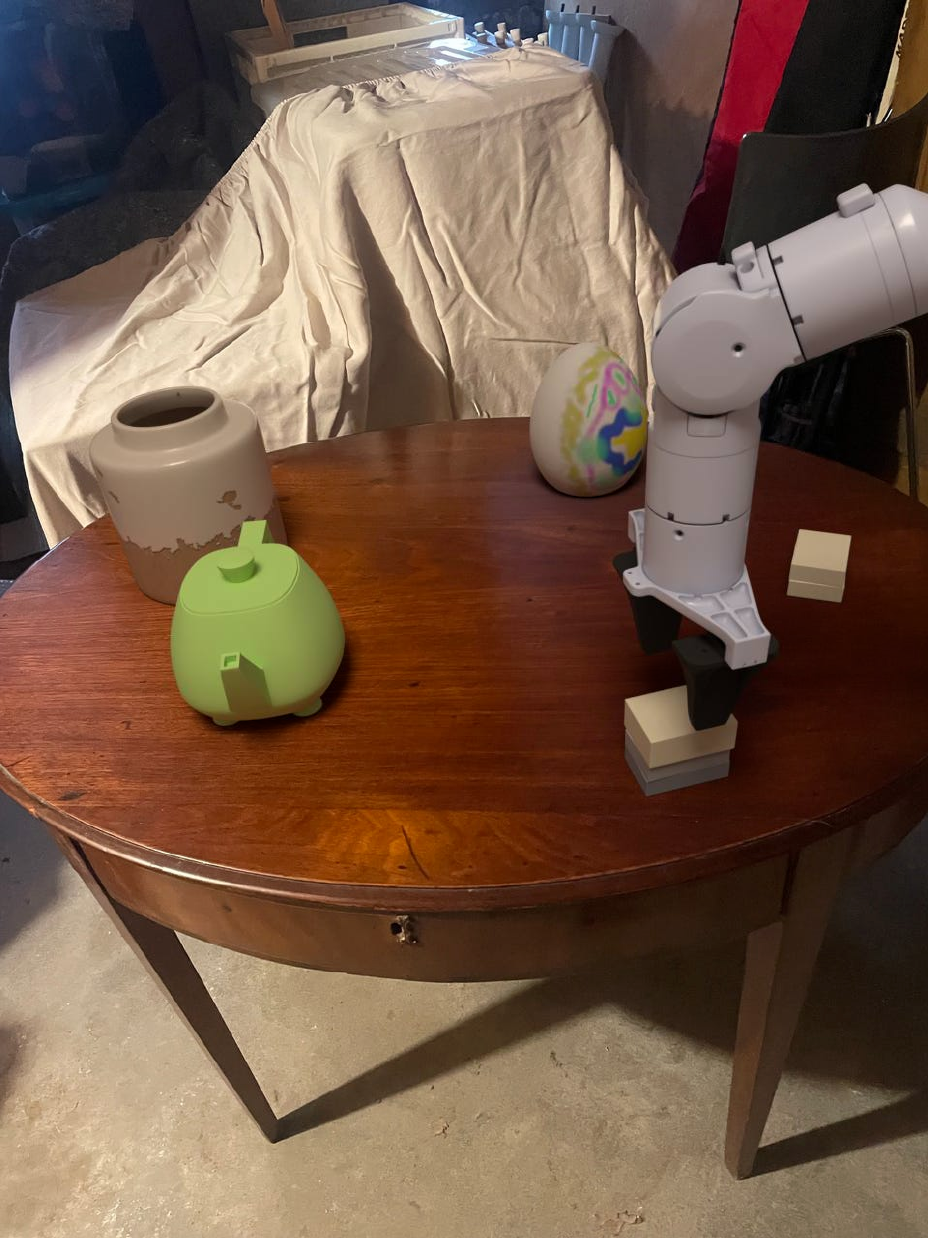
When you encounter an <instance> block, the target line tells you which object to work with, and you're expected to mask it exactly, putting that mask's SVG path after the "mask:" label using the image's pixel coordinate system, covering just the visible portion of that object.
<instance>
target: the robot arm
mask: <svg viewBox="0 0 928 1238" xmlns="http://www.w3.org/2000/svg"><path fill="white" fill-rule="evenodd" d="M836 202H837V205H838V208H839V210H838V211H835V212H833V213H831V214H828V215H826V216H825V217H822V218H820V219H818V220H816V221H813V222H811V223H810V224H807V225H805V226H803V227H801V228H798V229H797V230H794V231H792V232H790V233H788V234H786V235H784V236H782V237H780V238H778V239H775V240H773V241H771V242H769V243H767V245H768V246H767V245H765V244H764V245H763V246H760V247H759V248H755V246H754V242H752V241H748V242H746V243H744V244H741V245H740V246H738V247H735V248H734V249H732V251H731V260H732V264H731V263H725V264H723V265H722V264H718V262H710V263H705V264H704V263H703V264H700V265H697V266H694V267H691V268H690V269H688V270H686V271H683V272H682V273H681V274H680V275H678V276H677V277H676V278H674V279H673V281H671V283H669V285H668V288H667V289H666V291H665V292H663V293H662V294H661V295H660V298H659V301H658V302H657V305H656V308H655V311H654V315H652V316H651V321H650V323H651V324H650V325H651V333H652V336H651V337H652V338H651V346H650V366H651V369H652V375H653V379H654V381H655V383H654V384H653V387H652V390H651V399H650V400H651V402H650V406H651V409H652V412H653V413H652V415H651V416H650V418H649V422H648V429H647V449H646V470H645V489H644V491H645V492H644V493H645V494H644V508H639V509H634V510H630V511H628V523H627V524H628V525H627V537H628V538H629V540H630V541H631V542H632V543H633V544H635V546H633V547H632V550H629V551H626V552H620V553H617V554H616V555H615V556H614V557H613V558H612V559H611V561H612V562H611V564H612V567H613V569H614V570H615V571H616V574H617V575H618V577H619V579H620V581H621V582H622V585H623V588H624V590H625V592H626V595H627V598H628V601H629V604H630V608H631V612H632V616H633V621H634V626H635V630H636V634H637V639H638V642H639V646H640V648H641V651H642V653H643V654H644V655H645V657H646V656H651V655H655V654H660V653H665V652H668V651H672V650H673V652H674V653H675V655H676V657H677V658H678V660H679V663H680V666H681V668H682V671H683V675H684V680H685V685H686V686H687V703H688V714H689V719H690V722H691V724H692V726H693V727H694V729H695V730H696V731H701V730H706V729H710V728H714V727H718V726H722V725H725V724H726V722H727V721H728V719H729V717H730V715H731V713H732V714H733V711H734V709H735V707H736V705H737V703H738V701H739V699H740V697H741V696H742V694H743V692H744V691H745V690H746V688H747V687H748V685H749V684H750V683H751V681H753V679H754V678H755V677H756V676H757V675H758V674H759V673H760V672H761V671H763V669H764V668H766V666H768V665H769V664H770V663H772V661H773V660H775V659H776V658H777V657H778V654H779V648H780V644H779V641H778V639H777V638H776V637H775V636H774V635H773V634H772V632H771V631H770V630H769V629H768V628H767V627H766V626H765V625H764V623H763V622H762V620H761V617H760V614H759V610H758V607H757V603H756V599H755V594H754V591H753V588H752V584H751V580H750V576H749V571H748V569H747V568H748V567H747V565H746V563H745V557H746V550H747V542H748V533H749V526H750V519H751V512H752V504H753V494H754V486H755V479H756V472H757V471H756V470H757V463H758V455H759V447H760V440H761V431H762V423H761V420H760V418H759V413H760V407H761V406H760V405H761V398H762V397H763V396H764V395H765V394H766V392H767V391H768V390H769V389H770V387H771V386H772V384H773V383H774V381H775V379H776V377H777V376H778V375H779V373H781V372H782V371H783V370H784V369H787V368H792V367H796V366H798V365H800V364H803V363H805V362H806V361H807V362H808V361H810V360H811V361H812V360H813V359H815V358H818V357H821V356H823V355H826V354H828V353H830V352H833V351H835V350H838V349H840V348H842V347H845V346H848V345H850V344H853V343H856V342H858V341H860V340H862V339H865V338H867V337H871V336H874V335H875V334H877V333H880V332H882V331H885V330H887V329H890V328H892V327H895V326H897V325H900V324H902V323H905V322H907V321H910V320H912V319H915V318H917V317H920V316H923V315H924V314H925V315H926V314H928V193H926V192H925V191H924V192H923V191H921V190H918V189H916V188H913V187H910V186H908V185H904V184H901V183H900V184H899V183H896V184H893V185H890V186H889V187H887V188H885V189H883V190H880V191H878V192H875V193H873V191H872V190H871V188H870V187H869V185H868V184H867V183H861V184H859V185H856V186H855V187H853V188H850V189H849V190H847V191H845V192H842V193H840V194H839V195H838V196H837V198H836ZM683 616H684V617H686V618H688V619H689V620H691V621H692V622H694V623H696V624H697V625H699V626H700V627H702V628H703V629H705V630H706V632H705V634H704V633H701V634H697V635H693V636H689V637H684V638H680V639H679V635H680V630H681V625H682V619H683Z"/></svg>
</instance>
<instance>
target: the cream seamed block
mask: <svg viewBox="0 0 928 1238" xmlns="http://www.w3.org/2000/svg"><path fill="white" fill-rule="evenodd" d="M851 540H852V535H848V534H841V533H834V532H825V531H818V530H817V531H816V530H809V529H801V528H799V530H798V533H797V538H796V542H795V544H794V547H793V548H794V549H793V553H792V554H793V555H792V558H791V562H790V567H789V574H788V584H787V590H786V596H789V597H796V598H803V599H810V600H816V601H817V600H818V601H824V602H825V601H826V602H832V603H840V604H841V603H842V601H843V596H844V592H845V585H846V584H845V583H846V572H847V567H848V561H849V552H850V547H851Z"/></svg>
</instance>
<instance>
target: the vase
mask: <svg viewBox="0 0 928 1238" xmlns="http://www.w3.org/2000/svg"><path fill="white" fill-rule="evenodd" d="M88 456H89V461H90V464H91V466H92V470H93V472H94V475H95V477H96V480H97V483H98V486H99V488H100V491H101V493H102V496H103V499H104V502H105V504H106V507H107V510H108V513H109V515H110V518H111V521H112V522H113V526H114V528H115V531H116V534H117V537H118V540H119V541H120V544H121V547H122V550H123V552H124V555H125V557H126V560H127V564H128V565H129V569H130V571H131V574H132V577H133V579H134V581H135V583H136V585H137V587H138V588H139V590H140V591H141V592H142V593H143V594H145V595H146V596H147V597H148V598H150V599H151V600H154V601H156V602H159V603H161V604H162V603H163V604H167V605H173V606H176V602H177V598H178V594H179V591H180V588H181V585H182V582H183V580H184V578H185V576H186V575H187V573H188V572H189V570H190V569H191V568H192V566H193V565H194V564H195V563H196V562H197V561H198V560H200V559H201V558H202V557H204V556H205V555H207V554H209V553H211V552H214V551H217V550H221V549H226V548H231V547H237V546H238V543H239V538H240V534H241V530H242V526H243V522H250V521H261V520H267V523H268V526H269V529H270V532H271V535H272V537H273V540H274V543H275V544H282V545H285V546H288V547H289V544H288V538H287V533H286V529H285V524H284V521H283V515H282V513H281V508H280V503H279V499H278V496H277V491H276V487H275V483H274V479H273V474H272V470H271V466H270V462H269V458H268V454H267V449H266V446H265V442H264V438H263V433H262V429H261V425H260V422H259V418H258V416H257V415H256V413H255V411H254V410H253V409H252V408H251V407H250V406H248V405H247V404H245V403H244V402H242V401H239V400H236V399H231V398H225V397H222V395H221V394H220V393H219V392H218V391H216V390H215V389H213V388H211V387H206V386H201V385H177V386H170V387H164V388H159V389H155V390H154V389H153V390H151V391H148V392H145V393H141V394H139V395H136V396H134V397H132V398H129V399H127V400H126V401H125V402H123V403H121V404H120V405H119V406H118V407H115V409H114V410H113V412H112V413H111V415H110V422H109V423H108V424H106V425H105V426H104V427H103V428H101V429H100V430H98V432H97V433H96V434H95V435H94V436H93V437H92V439H91V441H90V443H89V446H88Z"/></svg>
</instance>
